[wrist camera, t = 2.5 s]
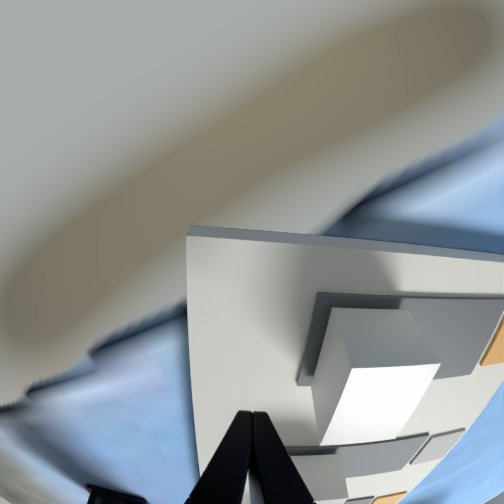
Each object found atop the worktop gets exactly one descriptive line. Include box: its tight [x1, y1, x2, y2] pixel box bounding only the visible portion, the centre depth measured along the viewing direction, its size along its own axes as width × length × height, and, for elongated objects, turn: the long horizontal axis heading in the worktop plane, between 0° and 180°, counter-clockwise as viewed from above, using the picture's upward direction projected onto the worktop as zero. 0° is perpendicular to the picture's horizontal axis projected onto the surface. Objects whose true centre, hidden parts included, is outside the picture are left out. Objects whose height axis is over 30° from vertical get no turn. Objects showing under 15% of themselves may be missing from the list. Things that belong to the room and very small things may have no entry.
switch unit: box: [186, 226, 504, 504], centre depth 16 cm, size 18×28×1 cm, turn 176°
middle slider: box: [290, 454, 349, 504], centre depth 14 cm, size 3×4×3 cm
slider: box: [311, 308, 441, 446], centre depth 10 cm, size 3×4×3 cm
